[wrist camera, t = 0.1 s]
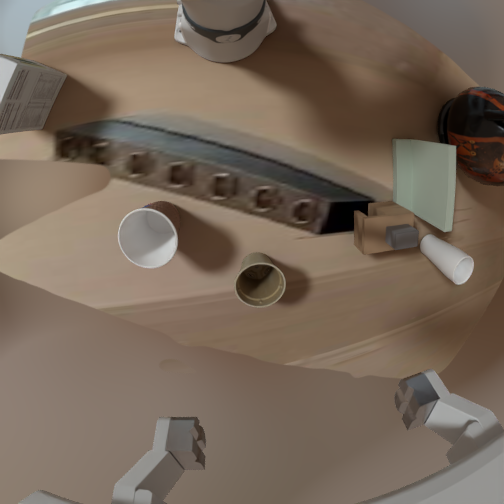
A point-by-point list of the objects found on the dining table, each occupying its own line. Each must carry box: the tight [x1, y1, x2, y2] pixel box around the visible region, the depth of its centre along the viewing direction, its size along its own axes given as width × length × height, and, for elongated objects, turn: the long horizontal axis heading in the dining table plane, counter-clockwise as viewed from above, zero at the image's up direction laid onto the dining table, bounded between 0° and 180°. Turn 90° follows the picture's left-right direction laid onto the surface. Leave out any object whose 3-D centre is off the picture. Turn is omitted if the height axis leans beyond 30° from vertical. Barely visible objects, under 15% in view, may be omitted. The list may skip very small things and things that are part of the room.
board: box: [392, 139, 456, 232], centre depth 48 cm, size 16×6×14 cm, turn 7°
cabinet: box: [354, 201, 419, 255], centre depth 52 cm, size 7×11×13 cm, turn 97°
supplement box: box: [0, 54, 67, 134], centre depth 33 cm, size 13×13×18 cm
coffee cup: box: [118, 201, 180, 268], centre depth 50 cm, size 10×10×12 cm
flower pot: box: [234, 253, 286, 308], centre depth 57 cm, size 9×9×9 cm
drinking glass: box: [420, 234, 474, 285], centre depth 55 cm, size 7×7×15 cm
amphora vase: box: [438, 87, 504, 186], centre depth 38 cm, size 22×22×28 cm
